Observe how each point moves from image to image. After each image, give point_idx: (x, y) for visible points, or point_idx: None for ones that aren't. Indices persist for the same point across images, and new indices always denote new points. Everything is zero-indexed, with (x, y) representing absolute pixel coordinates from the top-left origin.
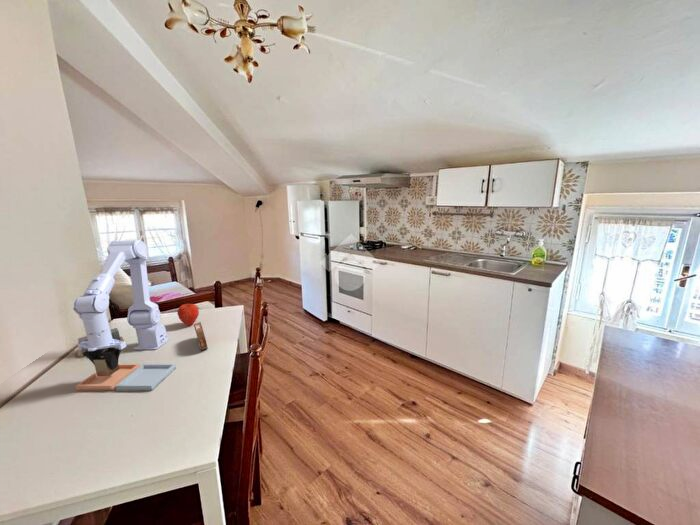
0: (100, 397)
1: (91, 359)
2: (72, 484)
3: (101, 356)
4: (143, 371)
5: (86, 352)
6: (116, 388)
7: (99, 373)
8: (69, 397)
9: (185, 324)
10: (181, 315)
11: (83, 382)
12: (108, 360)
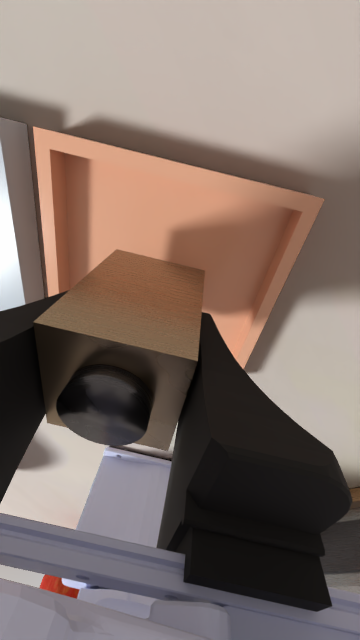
0: (80, 43)
1: (226, 375)
2: None
3: (95, 385)
4: (10, 296)
5: (294, 504)
6: (12, 121)
7: (181, 273)
8: (329, 105)
9: None
10: (77, 590)
11: (286, 241)
12: (18, 317)
